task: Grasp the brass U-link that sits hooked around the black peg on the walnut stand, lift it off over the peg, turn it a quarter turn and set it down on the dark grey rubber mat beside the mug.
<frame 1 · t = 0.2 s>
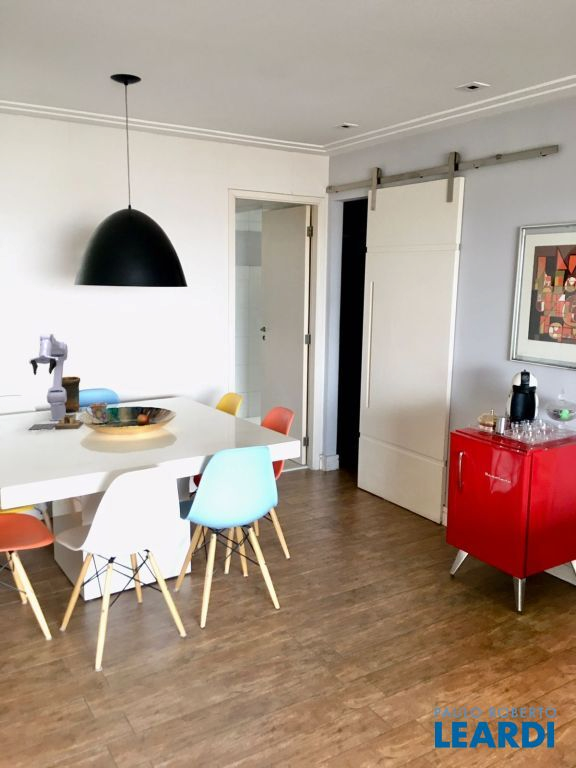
hand: (42, 373, 343), 31 cm above the table, tool tilted 45°, fingers open, 7 cm apart
mat: (43, 427, 358), on the table
mug: (97, 423, 364), on the table
u link: (69, 422, 358), point 2 cm above the table, touching peg stand
vessel: (70, 411, 397), on the table
peg stand: (69, 426, 358), on the table
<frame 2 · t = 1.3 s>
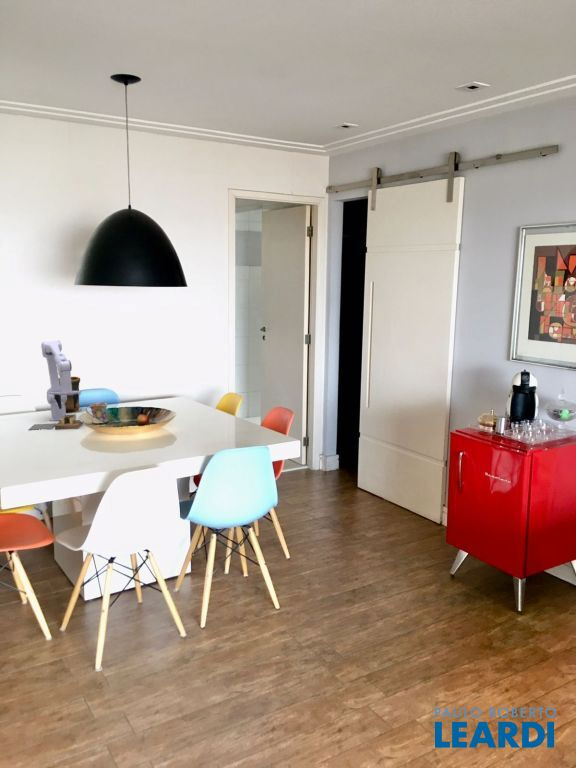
hand: (67, 408, 356), 10 cm above the table, tool pointing down, fingers open, 7 cm apart
nothing on the table moved.
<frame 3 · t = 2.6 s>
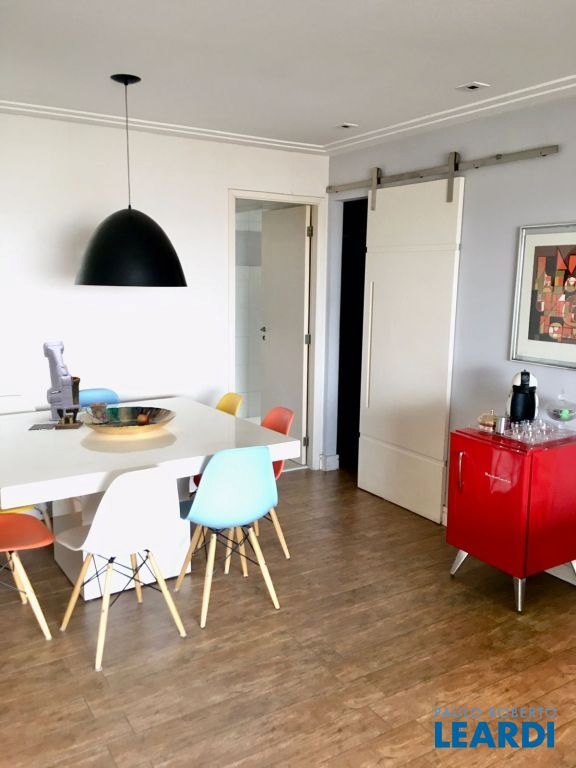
hand: (68, 422, 358), 2 cm above the table, tool pointing down, fingers closed on u link, 6 cm apart
u link: (69, 422, 358), point 2 cm above the table, touching gripper, peg stand
everything else where it was.
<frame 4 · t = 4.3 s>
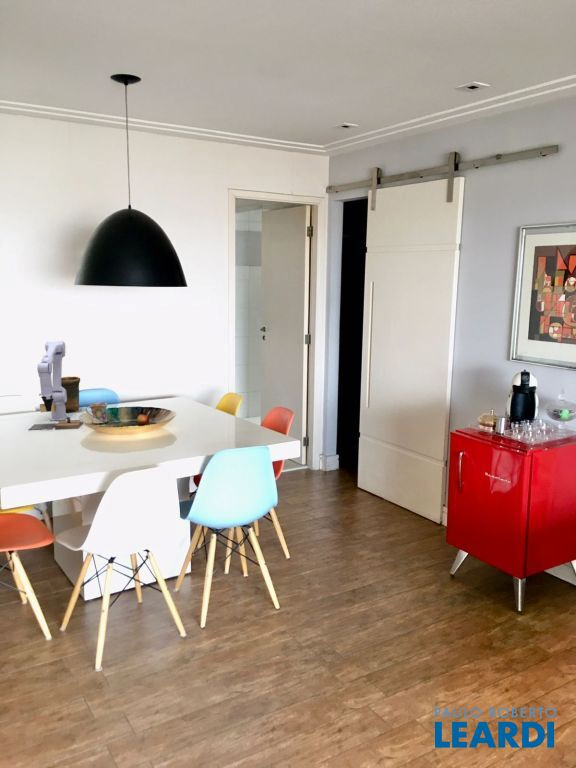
hand: (48, 410, 356), 9 cm above the table, tool pointing down, fingers closed on u link, 6 cm apart
u link: (48, 410, 356), point 9 cm above the table, touching gripper
everything else where it was.
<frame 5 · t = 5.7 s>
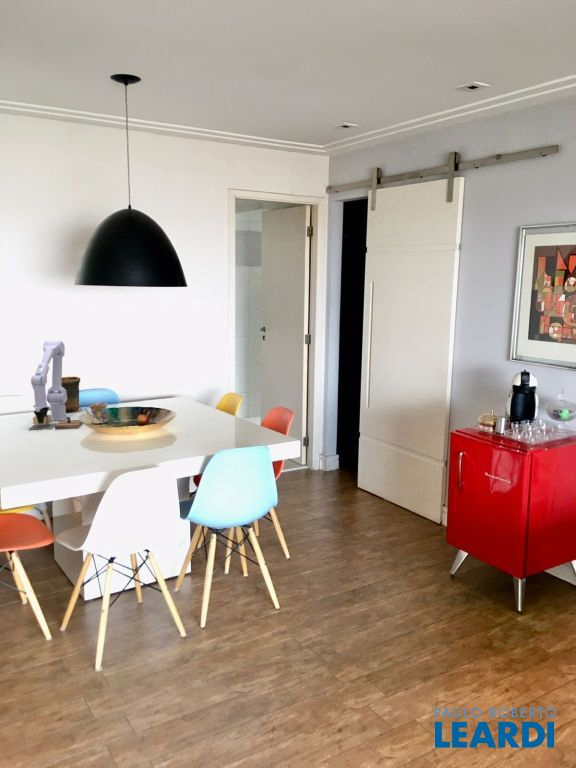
hand: (42, 422, 357), 3 cm above the table, tool pointing down, fingers closed on u link, 6 cm apart
u link: (42, 422, 357), point 2 cm above the table, touching gripper
everything else where it was.
when the fingers open (2 cm above the table, at t = 6.5 s): u link drops 1 cm, resting on mat.
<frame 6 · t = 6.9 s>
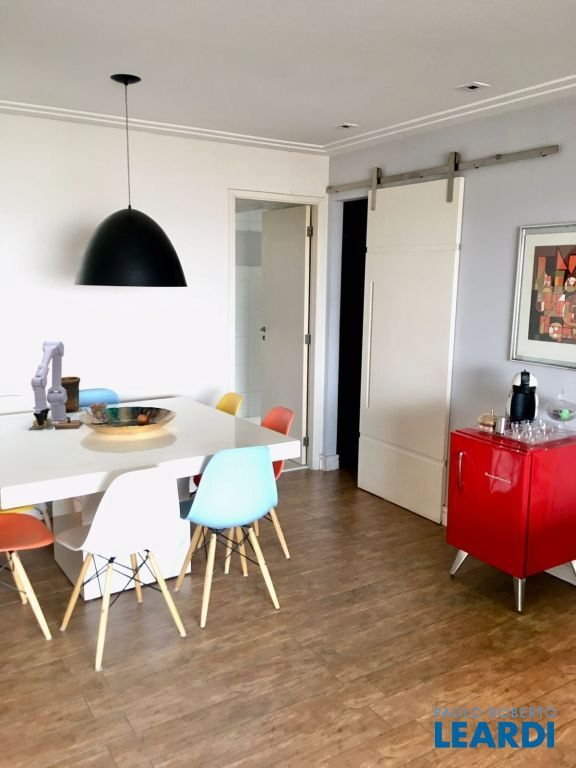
hand: (42, 423, 357), 2 cm above the table, tool pointing down, fingers open, 7 cm apart
u link: (42, 426, 358), resting on mat
everything else where it was.
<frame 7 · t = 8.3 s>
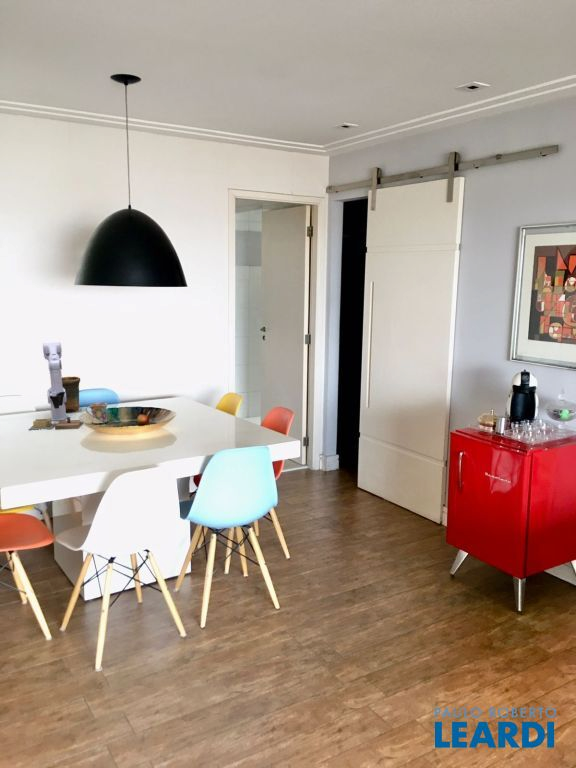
hand: (58, 406, 361), 10 cm above the table, tool pointing down, fingers open, 7 cm apart
nothing on the table moved.
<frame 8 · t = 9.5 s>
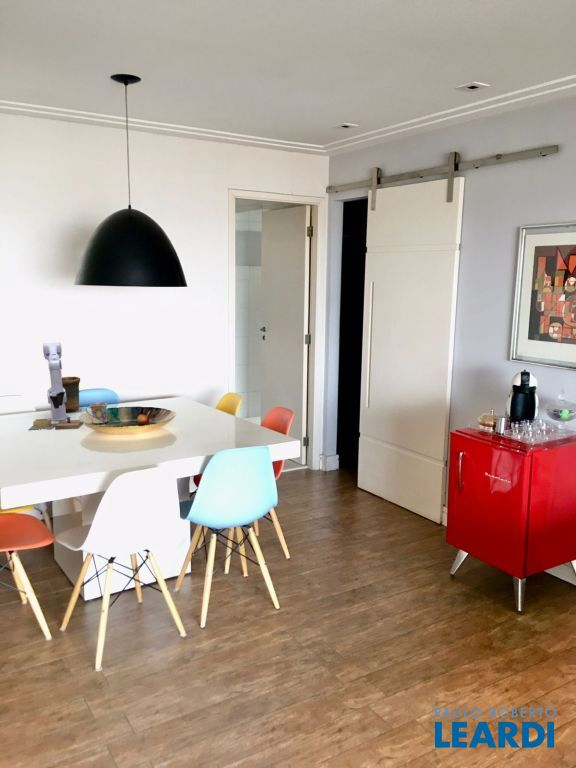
hand: (58, 406, 361), 10 cm above the table, tool pointing down, fingers open, 7 cm apart
nothing on the table moved.
at the end: u link inside the target area on the mat (0.1 cm from its centre), point 0.4 cm above the mat's base; u link touching mat; the gripper is holding nothing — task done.
